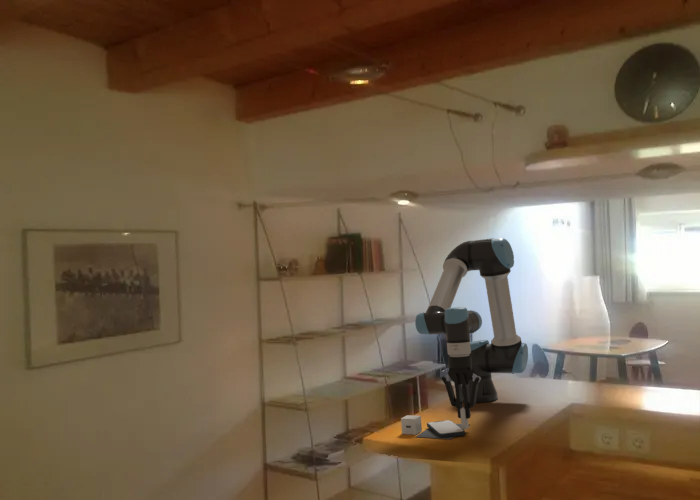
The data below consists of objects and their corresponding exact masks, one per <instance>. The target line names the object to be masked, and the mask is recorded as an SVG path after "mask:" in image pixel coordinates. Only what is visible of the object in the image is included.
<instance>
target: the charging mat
mask: <svg viewBox="0 0 700 500" xmlns="http://www.w3.org/2000/svg"><path fill="white" fill-rule="evenodd" d="M455 424H456V425H458V426H459V427H460V428H462V426H461V423H455ZM468 424H469V423H468ZM469 426H471V424H469ZM463 430H464V431H465V429H463ZM415 438H419V439H420V438H422V439H423V438H424V439H425V438H426V439H439V440H452V439H454V438H455V437H447V438H440V437H438V436H437V435H436V434H435V433H434V432H433V431H431V430H430V429H429V428H428V427H427V429H425V430H422V431H421V432H420V433H418V434H417V435H415Z"/></svg>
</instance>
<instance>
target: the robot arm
mask: <svg viewBox="0 0 700 500" xmlns="http://www.w3.org/2000/svg"><path fill="white" fill-rule="evenodd" d="M513 251H514V250H513V247H512V245H511V244H510V242H509V241H508V239H506V238H504V237H499V238H498V237H496V238H495V237H493V238H492V237H491V238H484V239H483V238H482V239H477V240H475V239H474V240H466V241H463V242H462V243H460V244H459V245H457V246H456V247H454V248H453V249H452V250H451V251H450V252H449V253H448V255H447V256H446V258H445V259H444V262H443V264H442V269H443V271H442V273H441V276H440V278H439V281H438V283H437V284H436V285H437V286H436V288H435V290H434V293H433V295H432V297H431V299H430V302H429V304H428V307H427V309H426V311H425V312H419V313H418V314H417V315H416V317H415V321H414V322H415V323H414V324H415V328H416V331H417V332H418V333H419V334H420V335H429V336H430V335H446V349H447V355H448V357H447V363H448V371H447V374H445V375H444V376H442V377H441V380H442V382H443V384H444V385H445V389H446V392H447V396H448V398H449V399H448V400H449V402H450V405H451V407H454V408H456V410H457V417H458V419H460V424H461V426H462V429H464V431H465V430H467V429H469V428H470V425H469V419H470V418H471V416H472V415H471V408H472V407H475V406H476V404H477V403H487V402H493V401H496V400H497V399H499V398H498V391H497V389H496V386H495V384H494V382H493V379H492V374H513V375H515V374H522V373H524V372H525V370H526V369H527V365H528V359H529V347H528V345H527V343H525V342H522V337H521V336H520V335H518V334H517V331H516V330H517V329H516V325H515V324H516V323H515V318H514V311H513V304H512V298H511V291H510V284H509V278H508V276H509V274H510V273H511V269H512V268H513V267H514V266H515V260H514V259H515V256H514V255H515V254H514V252H513ZM471 271H479V276H480V277H481V278H483V280H484V282H485V288H486V295H487V300H488V307H489V315H490V319H491V320H490V321H491V326H492V332H493V338H491V340H490V341H489V339H482V340H481V339H480V340H475V341H474V340H473V341H471V338H470V335H471V334H474V333H476V332H477V331H479V330H480V329H481V327H482V326H483V325H482V324H483V319H482V316H481V315H480V314H479V312H477V311H475V310H468V308H466V307H465V306H460V307H459V306H456V307H452V305H453V302H454V300H455V298H456V294H457V293H458V290H459V288H460V284H461V282H462V280H463V278H464V277H465V276H466V275H467V274H468V272H471ZM451 380H452V382H453V384H454V388H453V385H452V382H451ZM454 389H455V390H454ZM454 391H455V392H454Z"/></svg>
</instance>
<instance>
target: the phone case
mask: <svg viewBox="0 0 700 500" xmlns="http://www.w3.org/2000/svg"><path fill="white" fill-rule="evenodd" d="M456 424H457V423H455V422H454V421H452V420H448V419H446V420H437V421H430V422H427V423H426V427H427V429H428V428H429V429H430V430H431V431H433V432H434V433H435V434H436V435H437V436H438V437H440V438H447V437H454V438H455V437H463V436H465V435H466V431H465V429H464V430H463V429H462V428H460V427H459V426H458V425H456Z"/></svg>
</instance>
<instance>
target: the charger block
mask: <svg viewBox="0 0 700 500" xmlns="http://www.w3.org/2000/svg"><path fill="white" fill-rule="evenodd" d="M400 423H401V425H400V427H401V434H402V435H411V434H412V436H413V435H415V436H417V435H419V434H420V433H422V432H423V430H422V429H423V427H422V416H421V415H409V414H407V415H405V416H403V417H401V418H400Z"/></svg>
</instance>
